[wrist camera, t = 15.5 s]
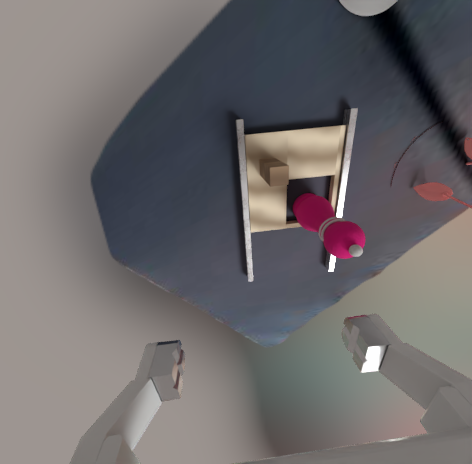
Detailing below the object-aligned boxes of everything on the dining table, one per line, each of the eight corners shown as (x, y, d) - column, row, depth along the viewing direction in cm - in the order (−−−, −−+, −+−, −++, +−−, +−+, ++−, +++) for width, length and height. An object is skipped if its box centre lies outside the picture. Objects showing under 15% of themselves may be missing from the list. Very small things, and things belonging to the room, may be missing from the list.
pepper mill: (285, 217, 49) (325, 270, 31) (297, 186, 46) (349, 226, 28) (313, 223, 50) (367, 277, 32) (327, 194, 47) (394, 236, 29)
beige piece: (243, 134, 40) (252, 137, 31) (341, 125, 41) (379, 125, 32) (249, 229, 49) (258, 253, 40) (330, 220, 50) (356, 242, 41)
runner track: (235, 120, 39) (236, 119, 37) (350, 109, 40) (357, 108, 38) (247, 276, 55) (248, 281, 54) (329, 266, 56) (333, 271, 54)
